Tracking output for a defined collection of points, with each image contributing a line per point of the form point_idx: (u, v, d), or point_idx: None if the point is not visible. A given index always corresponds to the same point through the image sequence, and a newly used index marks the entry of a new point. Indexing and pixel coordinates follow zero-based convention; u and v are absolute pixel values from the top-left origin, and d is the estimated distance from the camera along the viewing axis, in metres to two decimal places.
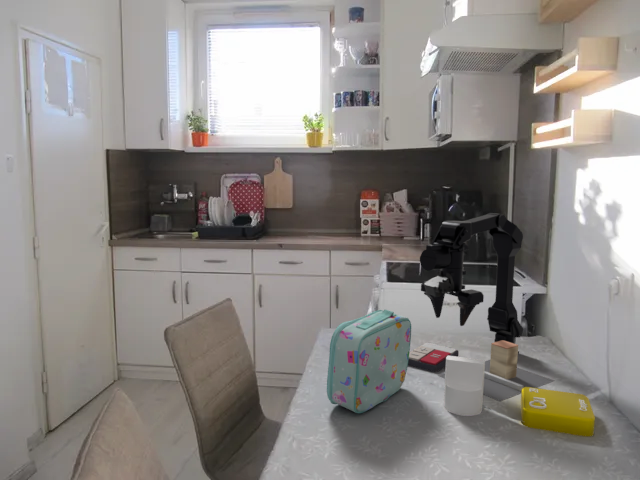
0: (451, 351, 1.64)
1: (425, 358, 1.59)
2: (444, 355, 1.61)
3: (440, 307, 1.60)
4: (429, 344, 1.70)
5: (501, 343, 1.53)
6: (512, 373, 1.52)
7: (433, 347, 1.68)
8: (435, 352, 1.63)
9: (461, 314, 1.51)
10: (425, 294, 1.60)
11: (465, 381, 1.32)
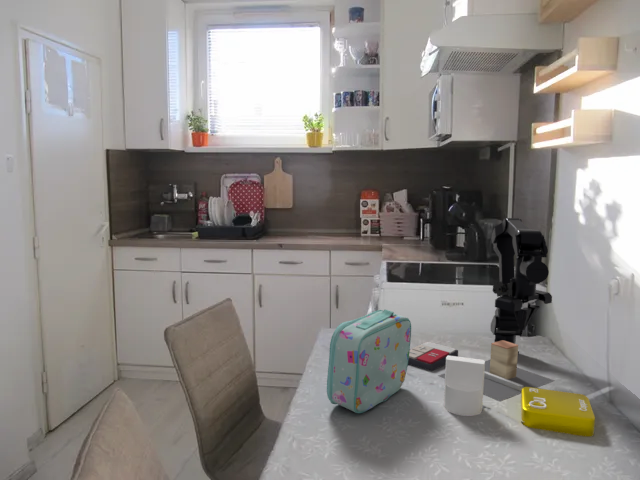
0: (450, 351, 1.65)
1: (422, 357, 1.60)
2: (442, 354, 1.61)
3: None
4: (430, 343, 1.71)
5: (501, 343, 1.53)
6: (512, 373, 1.52)
7: (433, 346, 1.68)
8: (434, 351, 1.64)
9: None
10: None
11: (465, 381, 1.32)
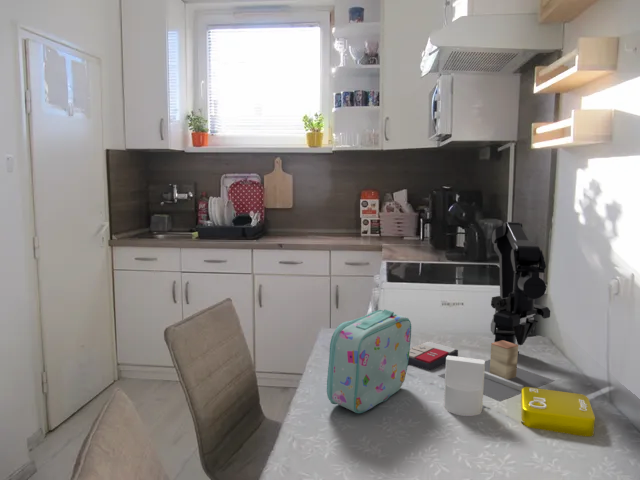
0: (450, 350, 1.65)
1: (421, 356, 1.60)
2: (441, 354, 1.62)
3: None
4: (430, 343, 1.71)
5: (501, 343, 1.53)
6: (512, 373, 1.52)
7: (433, 346, 1.69)
8: (433, 351, 1.64)
9: None
10: None
11: (465, 381, 1.32)
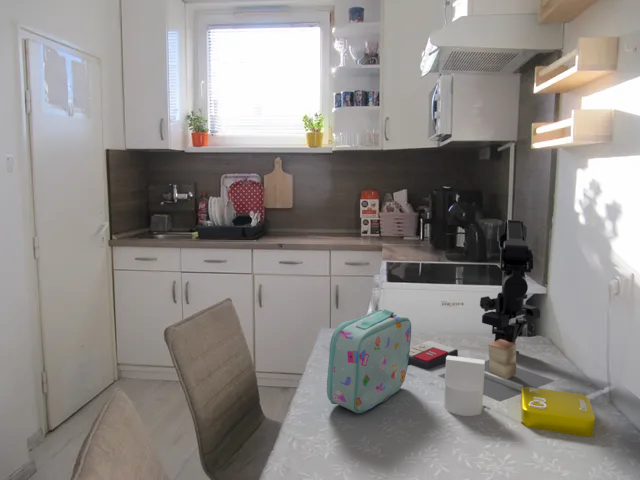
0: (449, 350, 1.65)
1: (419, 355, 1.61)
2: (440, 353, 1.62)
3: None
4: (430, 342, 1.72)
5: (498, 343, 1.52)
6: (512, 372, 1.51)
7: (433, 345, 1.69)
8: (432, 350, 1.65)
9: None
10: None
11: (465, 381, 1.32)
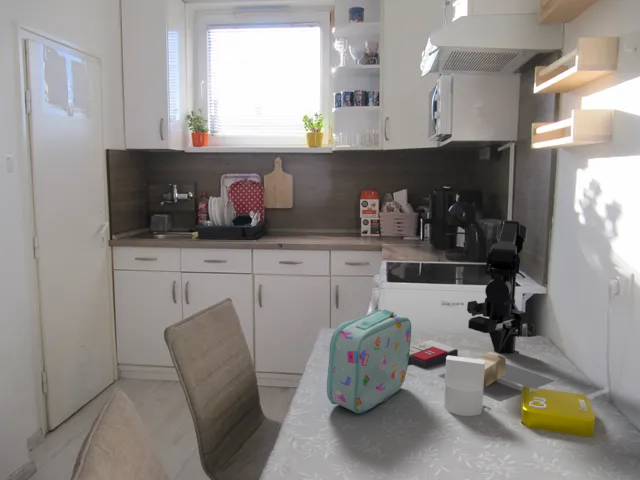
0: (449, 350, 1.66)
1: (418, 354, 1.62)
2: (439, 353, 1.63)
3: None
4: (431, 342, 1.72)
5: None
6: (502, 364, 1.48)
7: (433, 345, 1.70)
8: (432, 349, 1.65)
9: None
10: None
11: (465, 381, 1.32)
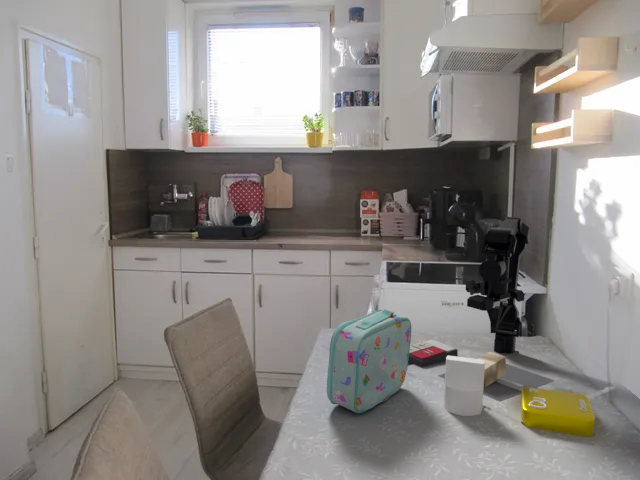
0: (448, 349, 1.66)
1: (416, 353, 1.63)
2: (437, 352, 1.63)
3: None
4: (432, 341, 1.73)
5: None
6: (502, 364, 1.48)
7: (434, 344, 1.71)
8: (431, 348, 1.66)
9: None
10: None
11: (465, 381, 1.32)
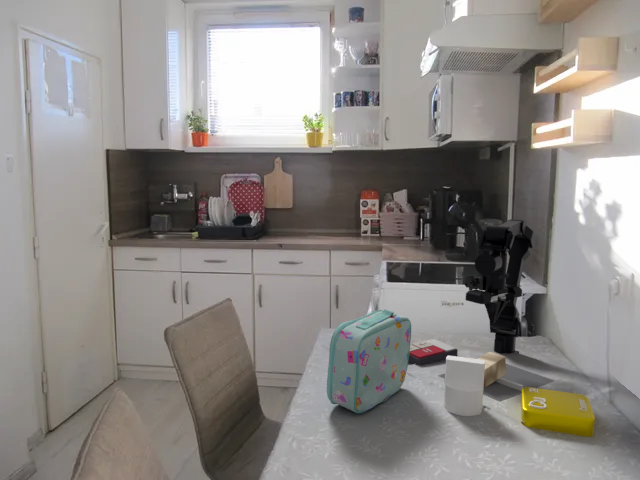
0: (448, 349, 1.66)
1: (415, 351, 1.64)
2: (436, 351, 1.64)
3: None
4: (433, 340, 1.74)
5: None
6: (502, 364, 1.48)
7: (434, 343, 1.71)
8: (430, 348, 1.67)
9: None
10: None
11: (465, 381, 1.32)
